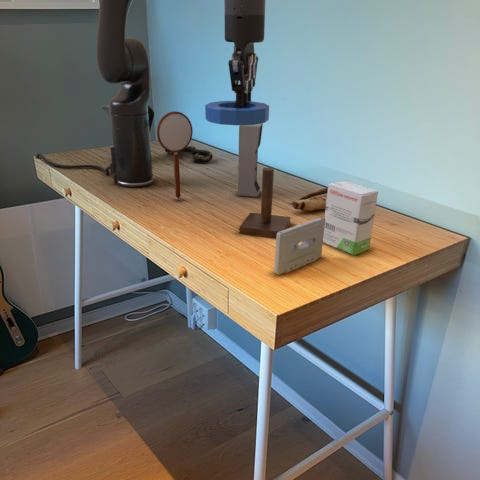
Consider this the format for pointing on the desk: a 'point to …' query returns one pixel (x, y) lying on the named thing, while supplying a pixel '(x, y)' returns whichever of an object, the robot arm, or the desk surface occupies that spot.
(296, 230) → the cassette
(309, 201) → the lashed bone hook
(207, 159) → the rubber snake
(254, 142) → the vintage mobile phone
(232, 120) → the tape roll
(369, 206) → the ink box
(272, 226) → the peg stand
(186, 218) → the desk surface
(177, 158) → the magnifying glass
